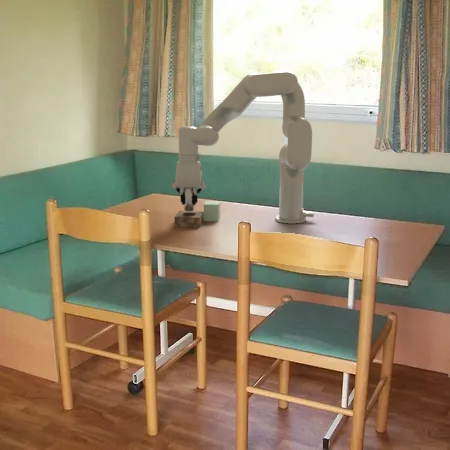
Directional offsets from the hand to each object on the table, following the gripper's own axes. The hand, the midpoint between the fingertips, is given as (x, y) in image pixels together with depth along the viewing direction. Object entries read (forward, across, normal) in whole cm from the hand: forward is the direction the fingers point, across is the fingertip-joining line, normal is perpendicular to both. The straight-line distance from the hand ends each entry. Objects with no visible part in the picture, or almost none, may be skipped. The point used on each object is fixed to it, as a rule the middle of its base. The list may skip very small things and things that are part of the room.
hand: (189, 203), depth 252 cm
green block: (+8, -8, -8) cm, 14 cm away
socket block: (+8, 0, 0) cm, 8 cm away
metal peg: (+2, 0, 0) cm, 2 cm away
